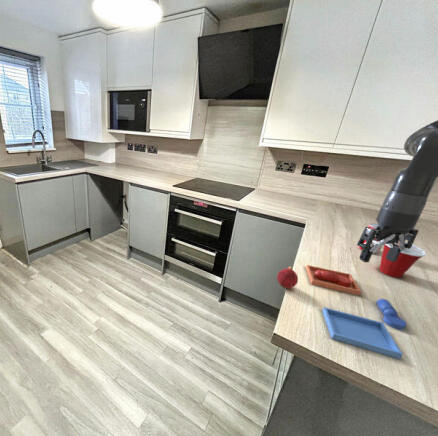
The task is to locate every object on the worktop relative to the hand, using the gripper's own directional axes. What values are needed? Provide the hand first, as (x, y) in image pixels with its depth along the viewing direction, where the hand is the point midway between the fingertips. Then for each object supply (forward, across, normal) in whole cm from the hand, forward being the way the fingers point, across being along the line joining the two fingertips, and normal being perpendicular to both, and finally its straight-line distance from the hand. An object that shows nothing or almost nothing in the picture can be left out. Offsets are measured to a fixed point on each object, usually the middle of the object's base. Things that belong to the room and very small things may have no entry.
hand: (377, 260), depth 68 cm
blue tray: (+14, -13, -12) cm, 23 cm away
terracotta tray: (+14, -3, +8) cm, 17 cm away
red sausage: (+14, -3, +8) cm, 16 cm away
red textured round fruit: (+14, -21, +6) cm, 26 cm away
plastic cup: (+14, +24, +12) cm, 30 cm away
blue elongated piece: (+14, +1, -7) cm, 16 cm away
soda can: (+14, +32, +28) cm, 45 cm away
